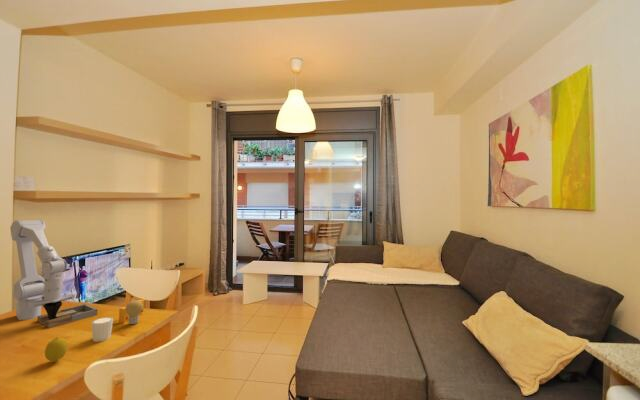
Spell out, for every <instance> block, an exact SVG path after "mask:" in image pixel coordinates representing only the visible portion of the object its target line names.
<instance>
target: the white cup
mask: <svg viewBox="0 0 640 400" xmlns="http://www.w3.org/2000/svg"><path fill="white" fill-rule="evenodd" d="M113 323H114V318H113V317H111V316H110V317H109V316H107V317H106V316H105V317H100V318H96V319H94V320H92V321H91V332H92V333H91V335H92V342H95V343H96V342H97V343H98V342H103V341H107V340H109V339H110V338H111V336H112V330H113Z"/></svg>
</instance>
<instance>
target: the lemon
mask: <svg viewBox="0 0 640 400" xmlns="http://www.w3.org/2000/svg"><path fill="white" fill-rule="evenodd" d="M67 350H68V343H67V341H66V339H65V338H62V337H55V338H52V340H50V341H49V342H48V343H47V344H46V347H45V350H44V357H45V359H46V360H47V361H50V362H54V363H55V362H58V361H59V360H61V359H62V358H63V357H64V356H65V355H66V353H67Z"/></svg>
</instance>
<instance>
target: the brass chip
mask: <svg viewBox="0 0 640 400" xmlns="http://www.w3.org/2000/svg"><path fill="white" fill-rule="evenodd" d="M64 316H67V314H66V313H64V312H62V313H58V314H56V317H55V319H56V318H60V317H64Z"/></svg>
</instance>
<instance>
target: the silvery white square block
mask: <svg viewBox="0 0 640 400" xmlns="http://www.w3.org/2000/svg"><path fill="white" fill-rule="evenodd" d="M64 313H66V314H67V315H70V316H71V315H75V314H77V311H75V310H70V311H66V312H64Z"/></svg>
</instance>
